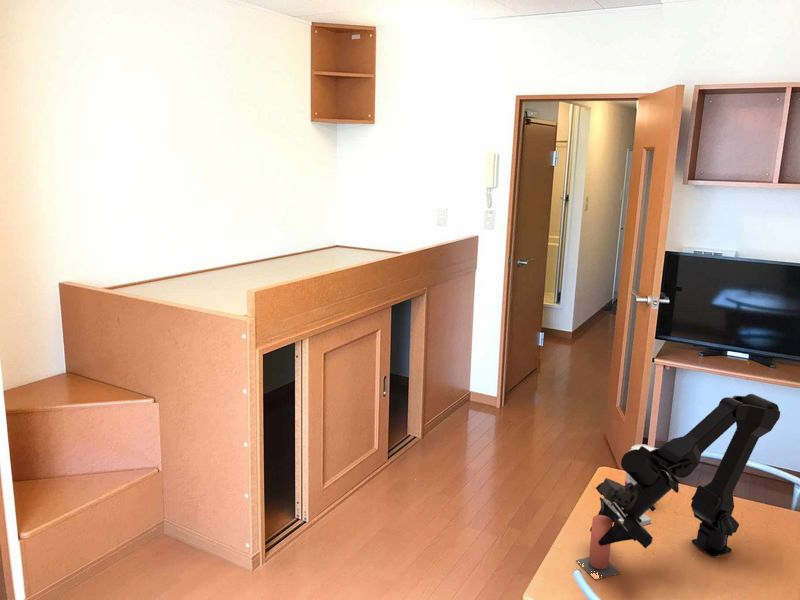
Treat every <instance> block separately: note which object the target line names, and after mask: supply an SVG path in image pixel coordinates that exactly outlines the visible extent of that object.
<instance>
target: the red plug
mask: <svg viewBox="0 0 800 600" xmlns="http://www.w3.org/2000/svg"><path fill="white" fill-rule="evenodd" d="M613 525H614V522H613V521H612V519H611V518H609V517H607V516H604V515H598V514H597V515H593V517H592V522H591V527H592V530H591V531H590V541H589V552H588V557H589V564H590V565H591V566H593V567H594V568H597V569H605V568H607V567H608V565H609V562H610V556H611V555H610V554H611V544H612V543H611V544H607V545H603V546H600V545H599V544H598V541H599V540H600V539H601V538H602V537H603V536H604V535H605V534H606V533H607V532H608V531H609V530H610V529H611V528H612V527H613Z"/></svg>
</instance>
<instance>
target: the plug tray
mask: <svg viewBox="0 0 800 600" xmlns="http://www.w3.org/2000/svg"><path fill="white" fill-rule="evenodd" d="M617 514H618V516H619V517H620V519H619V521H620V522H621V521H624V519H623V518H622V517H621V515H620V514H619V513H618V512H617ZM640 519H641V520H642V522H640V524H641V525H642V526H646V525H650V524H651V522H652V519H651V518H650V517H649V516H647V515H646V514H645V513H644V514H643V515H642V516H641V517H640Z"/></svg>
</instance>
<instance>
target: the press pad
mask: <svg viewBox="0 0 800 600" xmlns="http://www.w3.org/2000/svg"><path fill="white" fill-rule="evenodd" d="M576 561H577V562H578V561H579V562H580V563H579V564H581V566H582V564H583V563H584V564H583V565H584V567H583V568H584V569H585V570H586V571H587V572H588V573H589V574H591V573H592V574H593V573H595V574H596V573H597V572H598V575H599V578H601V577H605V578H607V577H606V576H609V577H611V575H613V576H616V575H620V574H621V571H620V570H619V569H617V567H616V566H614V564H612V563H611V562H610V561H609V565H608V567H607V568H605V569H597V568H594V567H593V566H591V565H590V564H589V556H587V557H584V558H580V559H576V560H575V562H576ZM577 562H576V563H577ZM579 564H578V565H579ZM581 566H580V567H581ZM583 568H582V569H583ZM584 569H583V570H584ZM585 570H584V571H585ZM586 571H585V572H586ZM591 571H592V572H591ZM594 571H595V572H594ZM587 572H586V573H587ZM588 573H587V574H588ZM619 573H620V574H619ZM589 574H588V575H589ZM615 574H616V575H615ZM596 575H597V574H596ZM601 575H602V576H601ZM601 579H602V578H601Z"/></svg>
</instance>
